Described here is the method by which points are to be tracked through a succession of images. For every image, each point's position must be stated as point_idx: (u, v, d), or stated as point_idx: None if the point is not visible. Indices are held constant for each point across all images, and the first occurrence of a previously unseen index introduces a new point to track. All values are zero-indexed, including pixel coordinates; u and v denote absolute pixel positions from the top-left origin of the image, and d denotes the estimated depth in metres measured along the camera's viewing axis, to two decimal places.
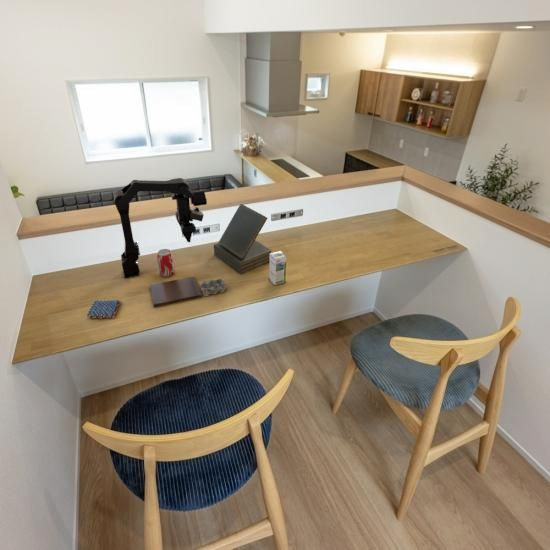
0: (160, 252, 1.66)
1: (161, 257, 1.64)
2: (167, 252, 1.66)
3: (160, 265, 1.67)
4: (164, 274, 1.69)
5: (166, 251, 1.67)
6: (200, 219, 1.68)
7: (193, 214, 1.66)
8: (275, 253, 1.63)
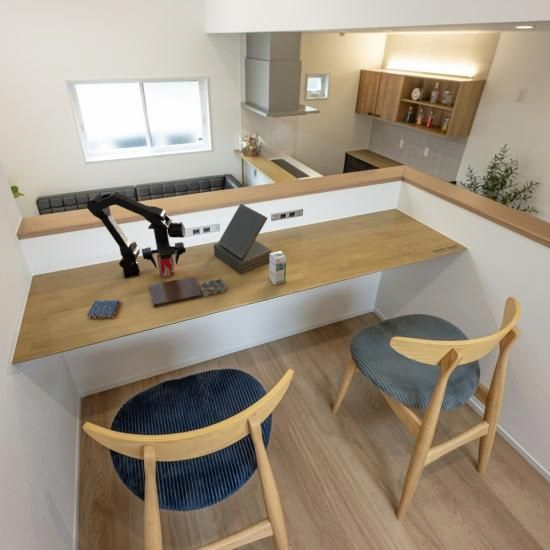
0: None
1: None
2: None
3: (160, 265, 1.67)
4: (164, 274, 1.69)
5: None
6: (160, 256, 1.59)
7: (158, 247, 1.60)
8: (275, 253, 1.63)
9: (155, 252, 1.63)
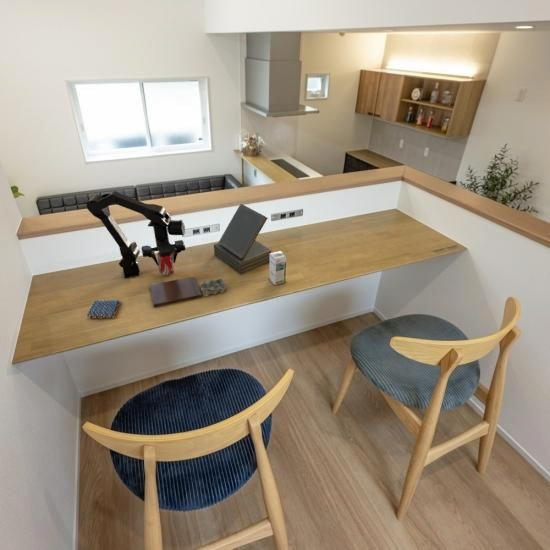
0: None
1: None
2: None
3: (160, 263, 1.66)
4: (163, 272, 1.68)
5: None
6: None
7: (158, 245, 1.59)
8: (275, 253, 1.63)
9: (157, 249, 1.63)
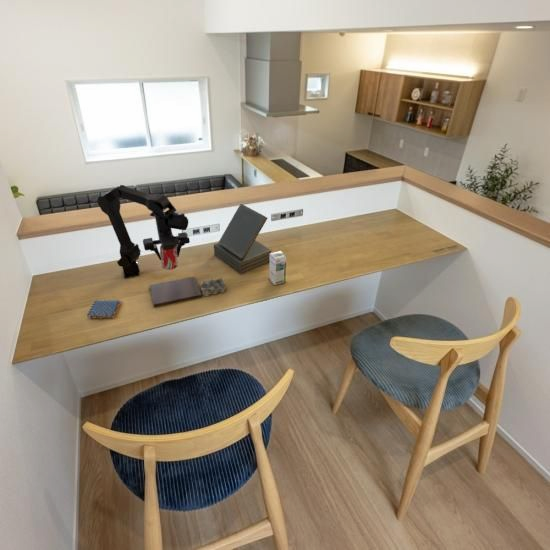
0: None
1: None
2: None
3: (163, 257, 1.56)
4: (166, 267, 1.58)
5: None
6: None
7: (161, 237, 1.49)
8: (275, 253, 1.63)
9: (159, 242, 1.53)
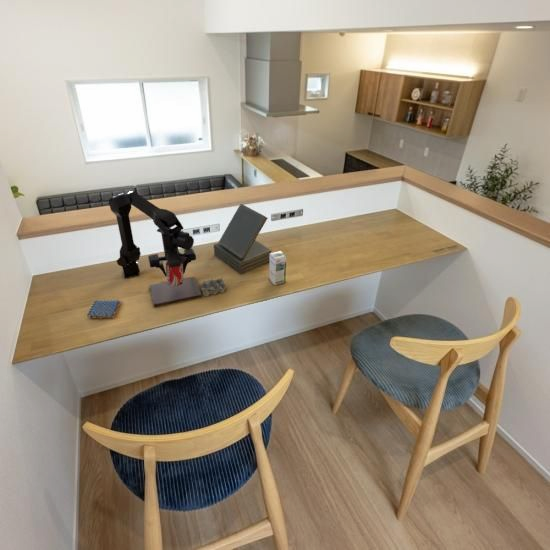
0: None
1: None
2: None
3: (168, 274, 1.52)
4: (172, 284, 1.55)
5: None
6: (168, 264, 1.45)
7: (167, 254, 1.46)
8: (275, 253, 1.63)
9: (165, 259, 1.49)
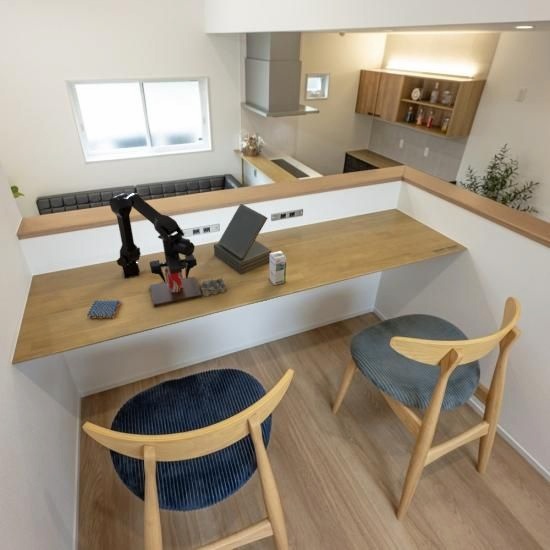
0: None
1: (169, 272, 1.52)
2: None
3: (168, 280, 1.54)
4: (172, 290, 1.57)
5: None
6: (169, 270, 1.46)
7: (168, 261, 1.47)
8: (275, 253, 1.63)
9: (164, 266, 1.51)
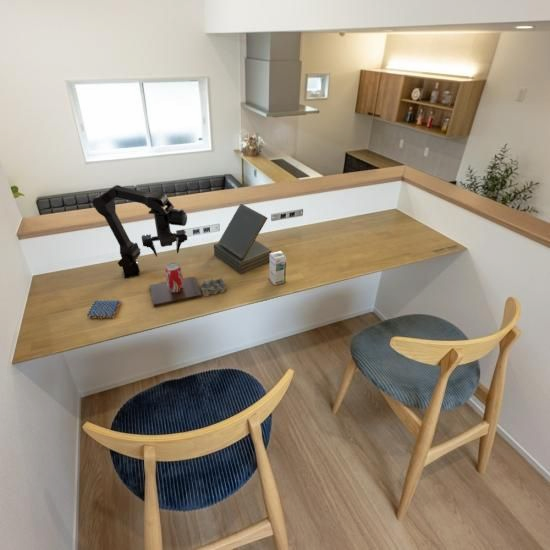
0: (168, 266, 1.54)
1: (169, 272, 1.52)
2: (175, 266, 1.54)
3: (168, 280, 1.54)
4: (172, 290, 1.57)
5: (175, 265, 1.55)
6: (160, 243, 1.52)
7: (159, 234, 1.52)
8: (275, 253, 1.63)
9: (155, 239, 1.56)
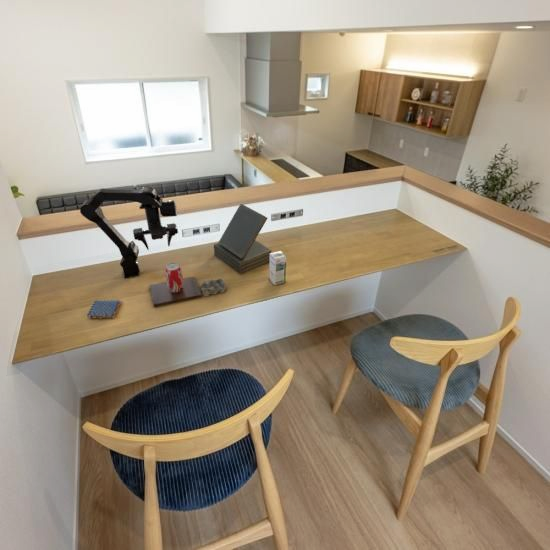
0: (168, 266, 1.54)
1: (169, 272, 1.52)
2: (175, 266, 1.54)
3: (168, 280, 1.54)
4: (172, 290, 1.57)
5: (175, 265, 1.55)
6: (151, 236, 1.56)
7: (150, 227, 1.57)
8: (275, 253, 1.63)
9: (147, 233, 1.60)
